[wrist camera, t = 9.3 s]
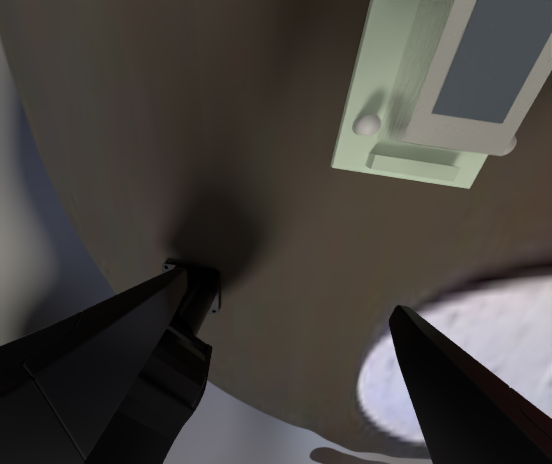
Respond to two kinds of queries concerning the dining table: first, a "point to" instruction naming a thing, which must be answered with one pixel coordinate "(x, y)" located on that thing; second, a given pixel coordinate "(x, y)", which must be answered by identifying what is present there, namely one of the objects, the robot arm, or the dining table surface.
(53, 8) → the dining table surface
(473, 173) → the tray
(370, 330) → the dining table surface
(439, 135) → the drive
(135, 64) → the dining table surface
